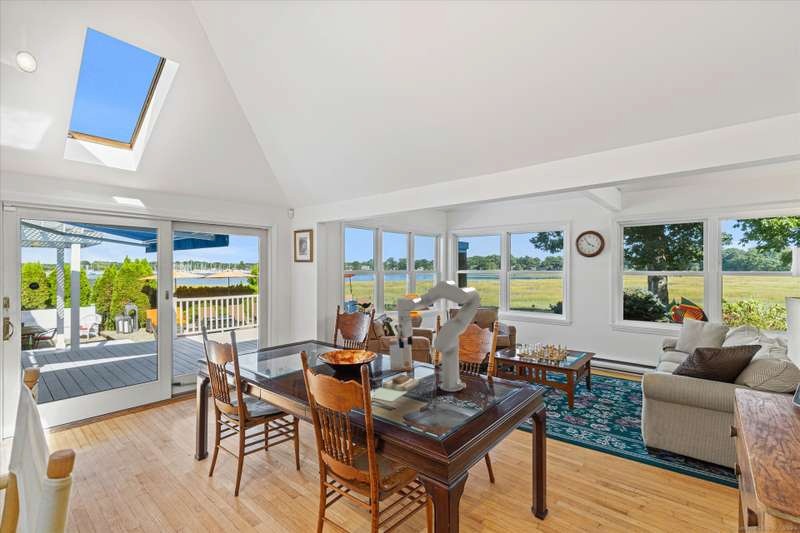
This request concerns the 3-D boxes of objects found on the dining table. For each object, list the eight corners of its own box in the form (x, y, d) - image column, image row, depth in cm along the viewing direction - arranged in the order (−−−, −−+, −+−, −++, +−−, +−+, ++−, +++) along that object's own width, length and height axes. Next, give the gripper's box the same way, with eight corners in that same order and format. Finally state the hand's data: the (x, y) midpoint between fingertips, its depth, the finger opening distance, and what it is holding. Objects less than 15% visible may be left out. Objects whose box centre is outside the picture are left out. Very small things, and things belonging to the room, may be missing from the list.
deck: (418, 384, 223) (418, 379, 222) (406, 391, 211) (406, 387, 211) (396, 380, 231) (396, 376, 231) (383, 387, 219) (382, 383, 219)
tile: (409, 379, 223) (409, 375, 223) (401, 384, 216) (400, 380, 215) (400, 378, 226) (400, 374, 226) (392, 383, 219) (392, 378, 219)
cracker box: (412, 368, 255) (410, 337, 255) (411, 371, 249) (410, 339, 249) (391, 368, 257) (390, 338, 256) (390, 371, 251) (389, 340, 250)
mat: (407, 392, 210) (407, 391, 210) (391, 401, 196) (391, 401, 196) (381, 387, 220) (381, 386, 220) (364, 396, 206) (364, 395, 206)
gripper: (402, 320, 220) (403, 350, 221) (416, 316, 235) (418, 343, 235) (391, 320, 224) (393, 349, 225) (406, 316, 239) (408, 342, 239)
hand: (406, 346), depth 230 cm, fingers open, 9 cm apart
